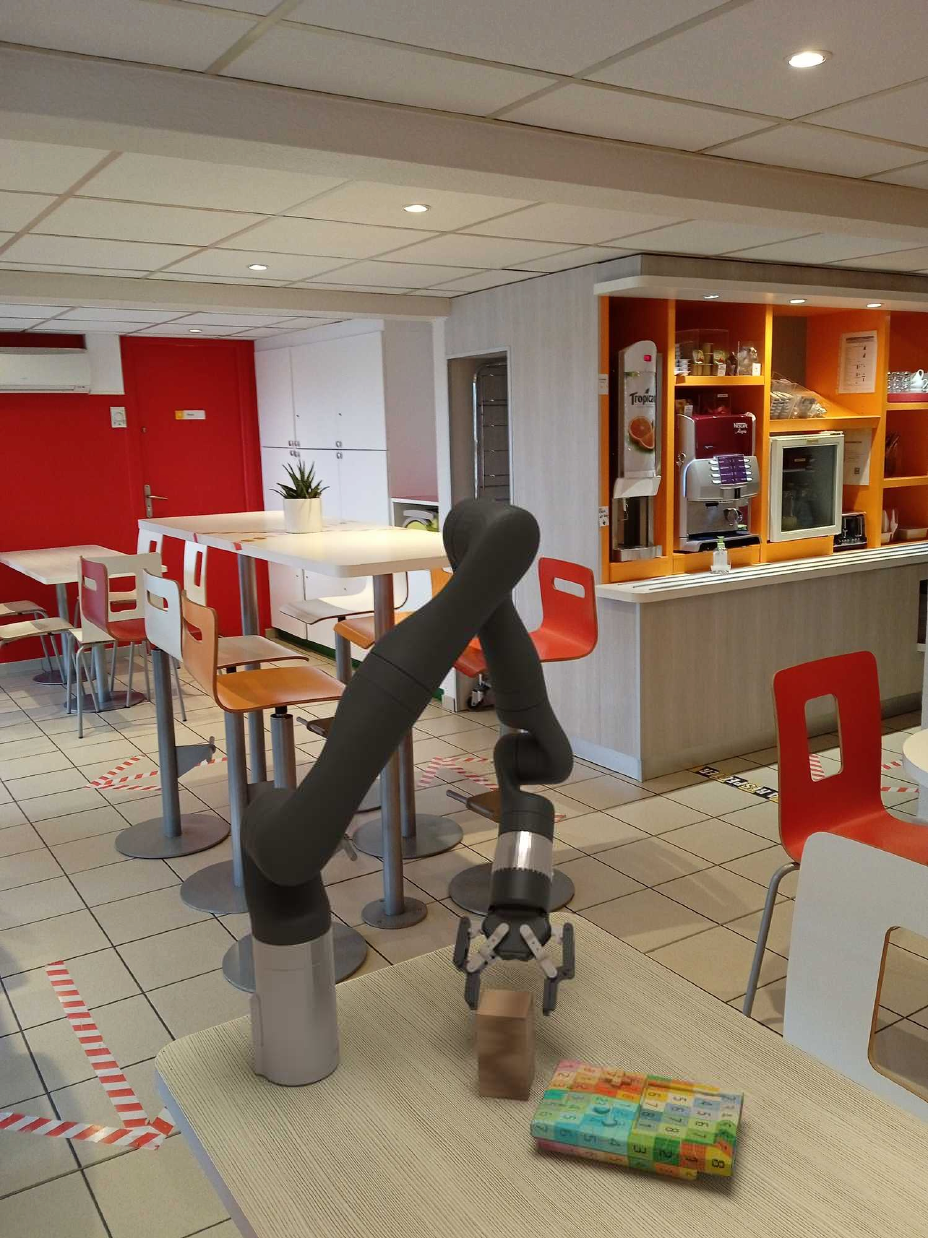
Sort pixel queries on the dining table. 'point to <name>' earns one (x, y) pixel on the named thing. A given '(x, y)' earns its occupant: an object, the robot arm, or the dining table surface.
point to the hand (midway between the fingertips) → (509, 1011)
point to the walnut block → (505, 1044)
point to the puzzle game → (639, 1120)
